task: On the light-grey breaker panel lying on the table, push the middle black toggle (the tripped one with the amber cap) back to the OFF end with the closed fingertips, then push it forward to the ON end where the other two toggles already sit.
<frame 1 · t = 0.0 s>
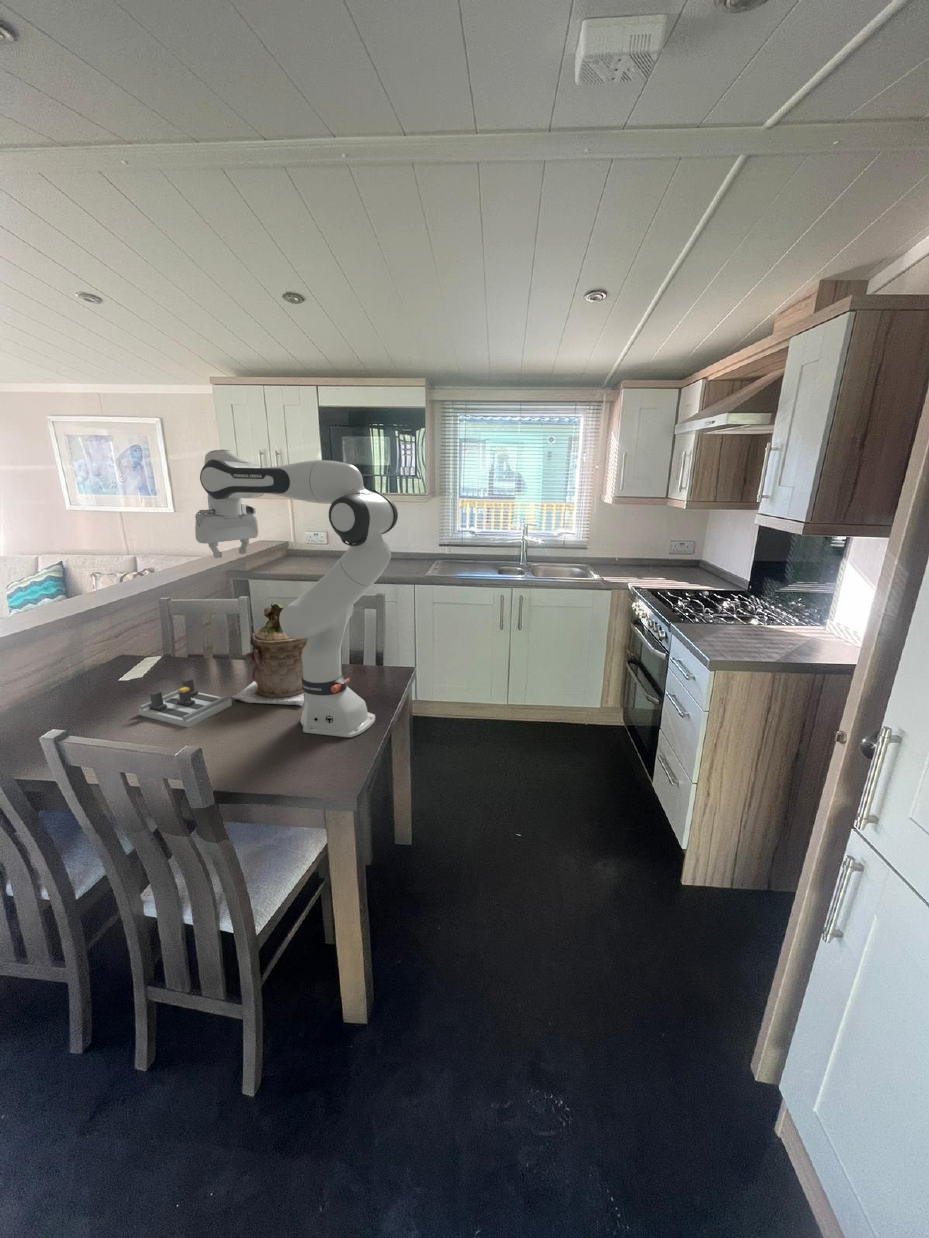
hand: (230, 555, 142), 48 cm above the table, fingers open, 8 cm apart
cookie jar: (284, 690, 164), on the table
breaker middle: (185, 695, 147), point 5 cm above the table, slide at 0.0 cm
breaker left: (156, 699, 143), point 5 cm above the table, slide at 5.0 cm
breaker right: (188, 686, 153), point 5 cm above the table, slide at 5.0 cm
panel: (187, 710, 148), on the table
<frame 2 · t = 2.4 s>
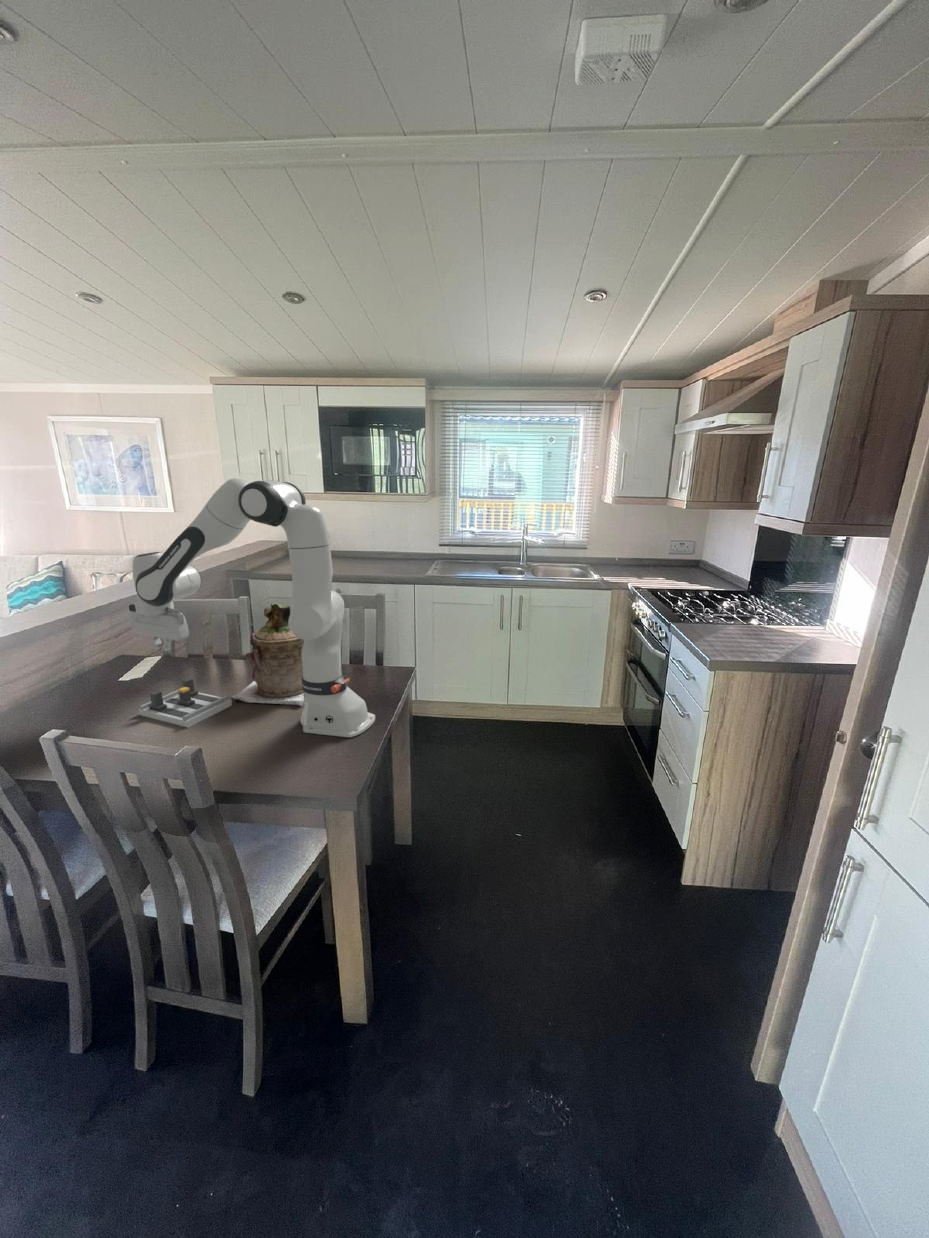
hand: (163, 649, 145), 19 cm above the table, fingers closed
nothing on the table moved.
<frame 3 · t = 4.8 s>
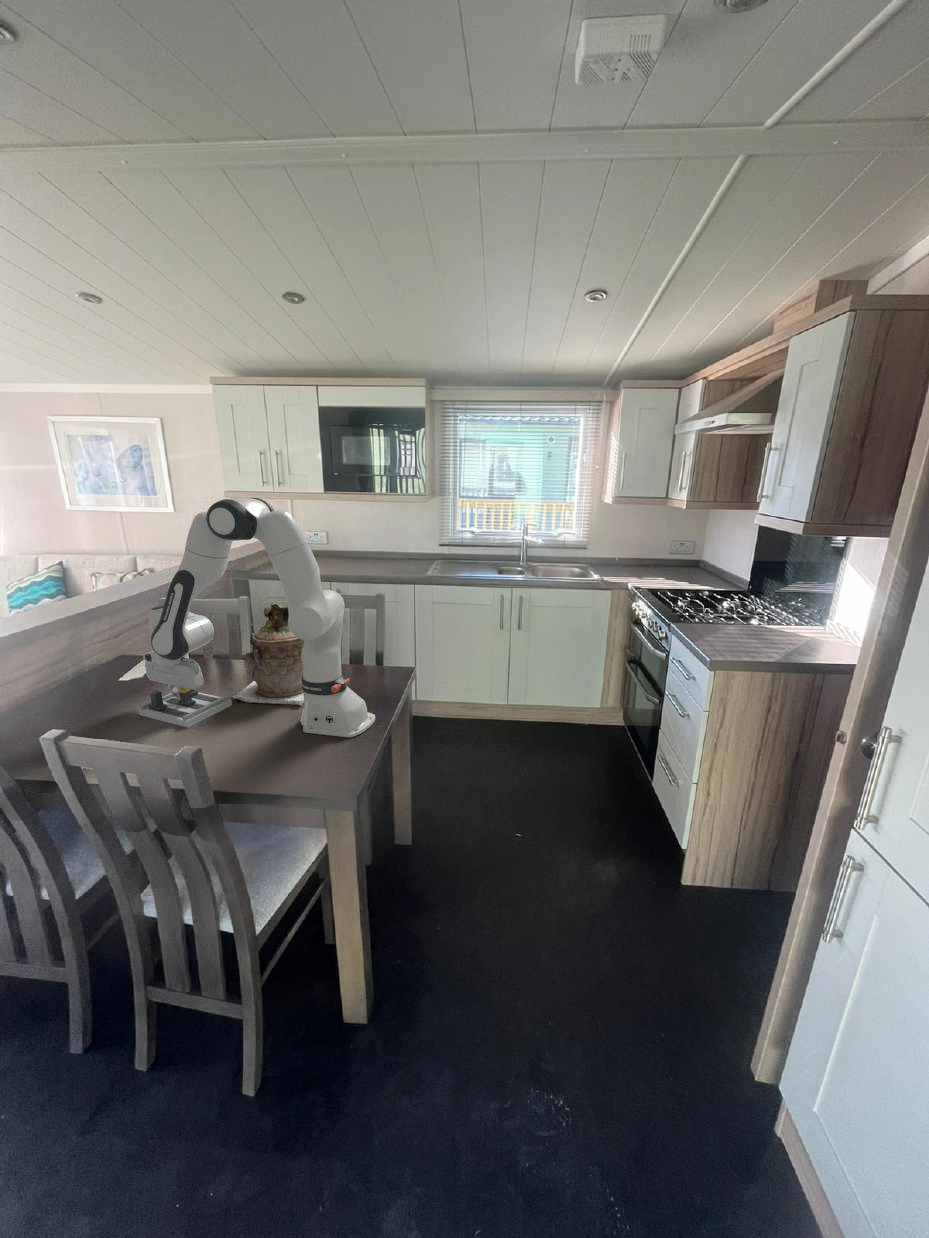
hand: (178, 696, 148), 4 cm above the table, fingers closed
breaker middle: (185, 695, 147), point 5 cm above the table, slide at -0.3 cm, touching gripper
everything else where it was.
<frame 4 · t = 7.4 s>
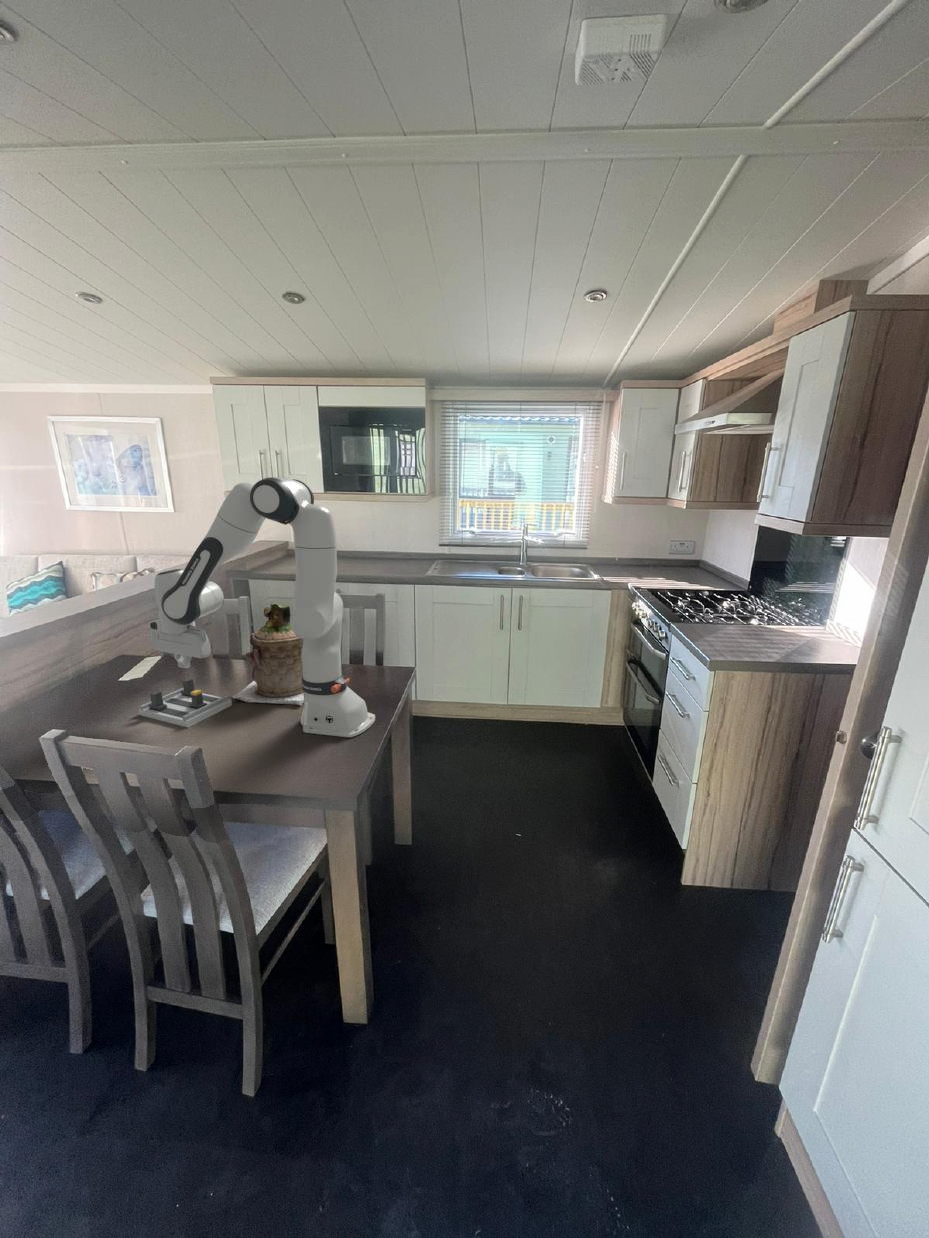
hand: (184, 667, 144), 15 cm above the table, fingers closed
breaker middle: (197, 698, 145), point 5 cm above the table, slide at -5.1 cm
everything else where it was.
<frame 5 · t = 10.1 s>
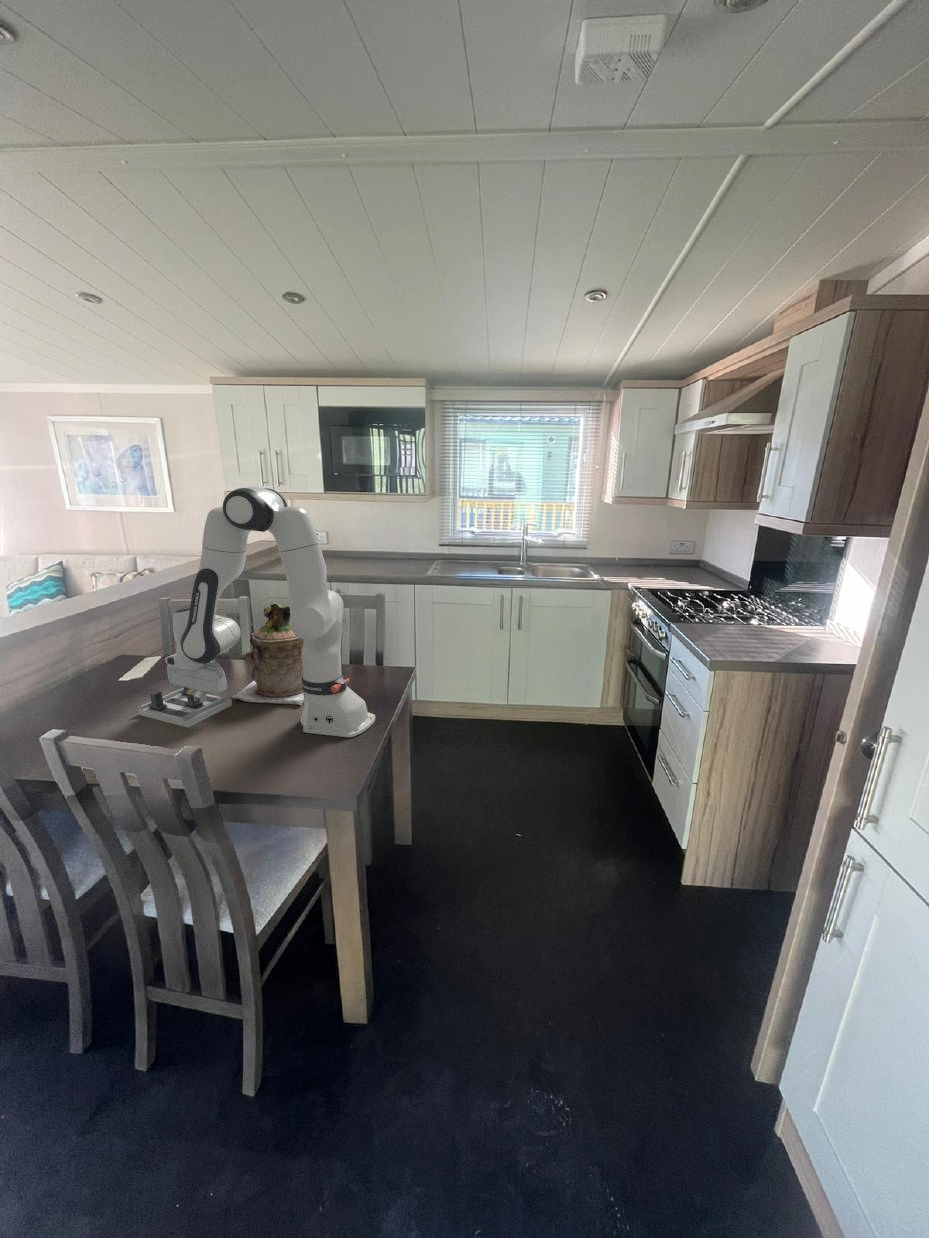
hand: (200, 701, 145), 4 cm above the table, fingers closed
breaker middle: (192, 697, 146), point 5 cm above the table, slide at -3.3 cm, touching gripper
everything else where it was.
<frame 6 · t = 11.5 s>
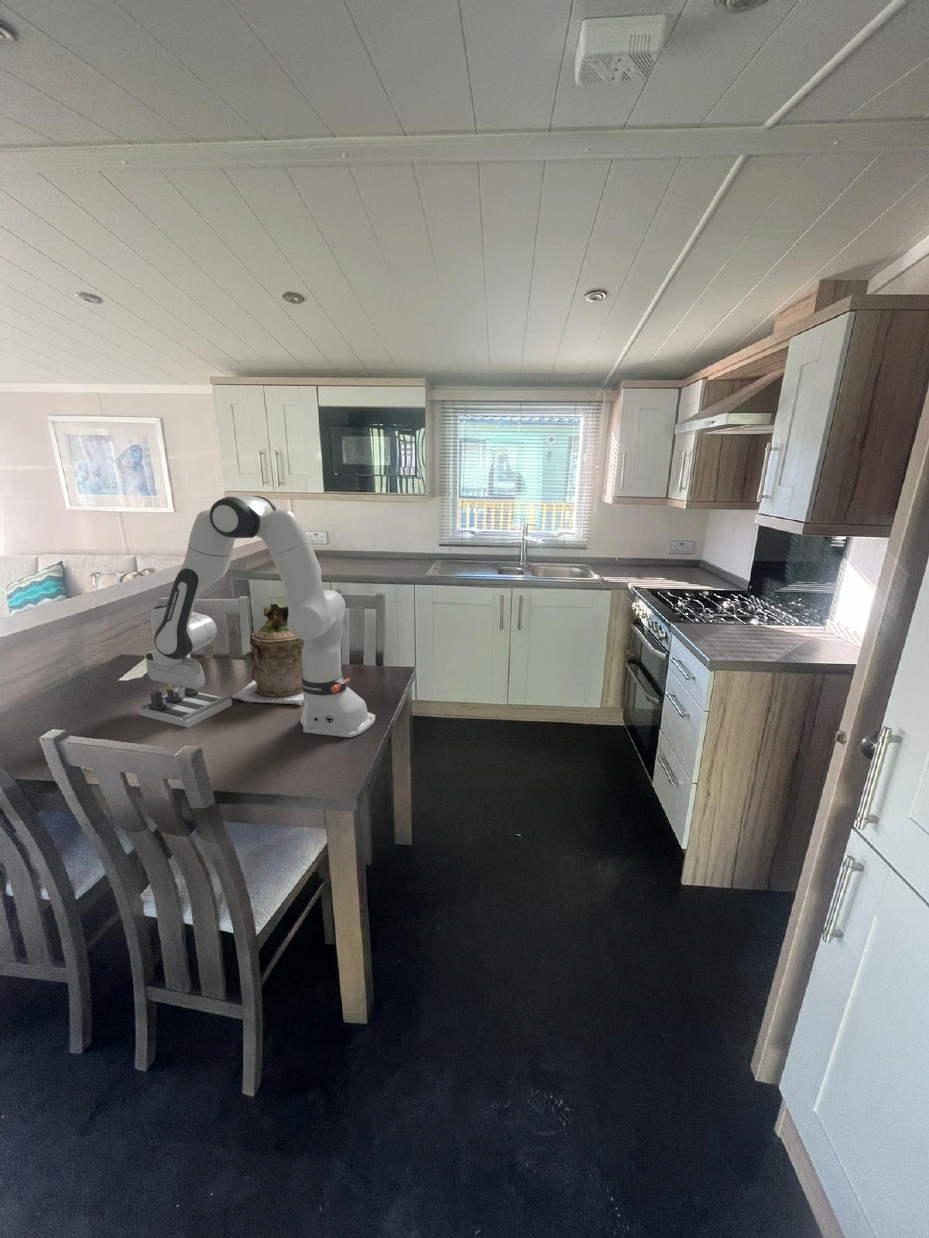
hand: (179, 696, 147), 4 cm above the table, fingers closed
breaker middle: (172, 692, 148), point 5 cm above the table, slide at 5.2 cm, touching gripper
everything else where it was.
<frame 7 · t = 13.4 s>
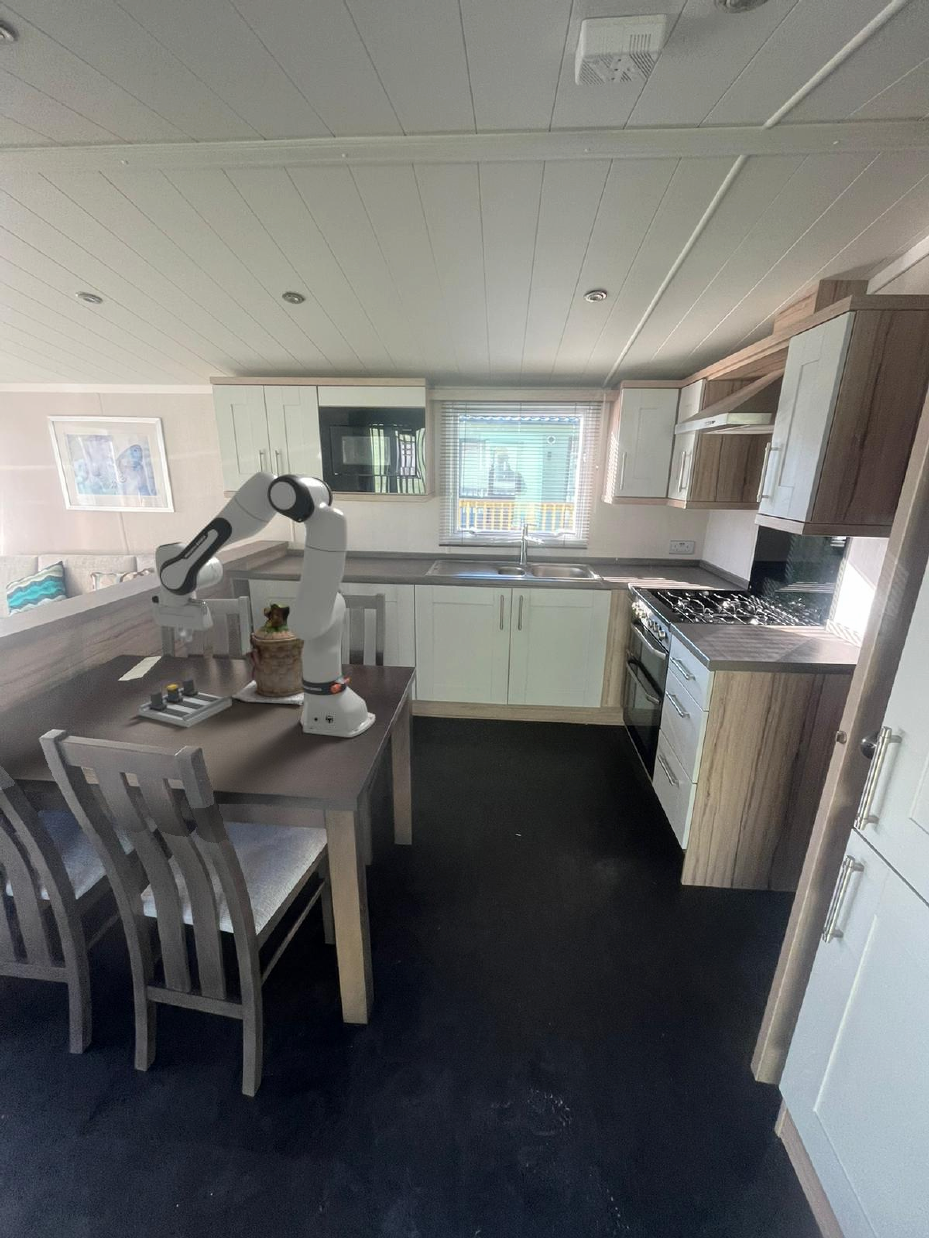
hand: (186, 641, 145), 22 cm above the table, fingers closed
breaker middle: (173, 693, 148), point 5 cm above the table, slide at 5.1 cm
everything else where it was.
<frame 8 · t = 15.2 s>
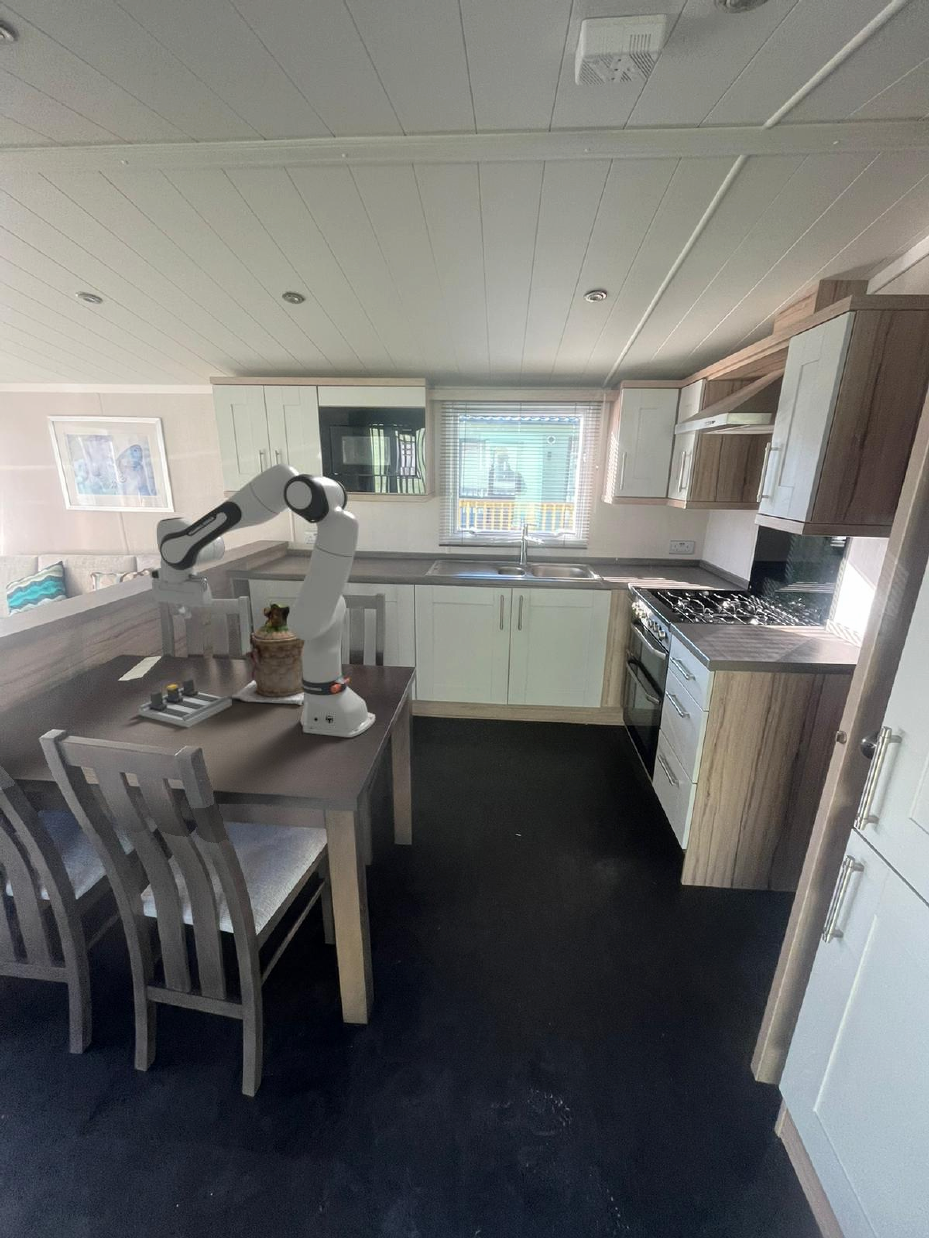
hand: (185, 617, 144), 29 cm above the table, fingers closed
nothing on the table moved.
at the end: breaker middle slide at 5.1 cm; breaker right slide at 5.0 cm; breaker left slide at 5.0 cm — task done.
